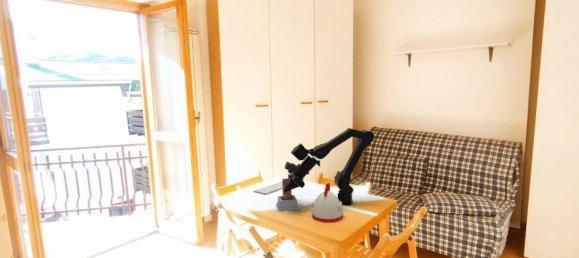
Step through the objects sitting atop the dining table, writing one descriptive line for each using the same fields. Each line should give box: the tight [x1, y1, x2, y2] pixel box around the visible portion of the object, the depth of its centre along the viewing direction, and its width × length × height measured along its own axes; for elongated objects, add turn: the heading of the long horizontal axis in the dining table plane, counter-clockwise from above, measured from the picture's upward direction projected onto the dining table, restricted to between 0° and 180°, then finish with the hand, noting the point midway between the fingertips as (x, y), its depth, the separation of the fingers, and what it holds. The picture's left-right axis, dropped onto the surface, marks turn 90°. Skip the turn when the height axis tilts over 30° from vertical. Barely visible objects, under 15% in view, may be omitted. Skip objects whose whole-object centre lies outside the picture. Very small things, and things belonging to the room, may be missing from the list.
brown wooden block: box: [281, 177, 293, 200], centre depth 159 cm, size 4×3×13 cm
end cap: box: [275, 194, 300, 212], centre depth 159 cm, size 10×10×4 cm
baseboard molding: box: [252, 181, 283, 196], centre depth 195 cm, size 31×3×12 cm
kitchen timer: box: [311, 182, 344, 224], centre depth 145 cm, size 14×14×15 cm
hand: (284, 190), depth 159 cm, fingers open, 4 cm apart
